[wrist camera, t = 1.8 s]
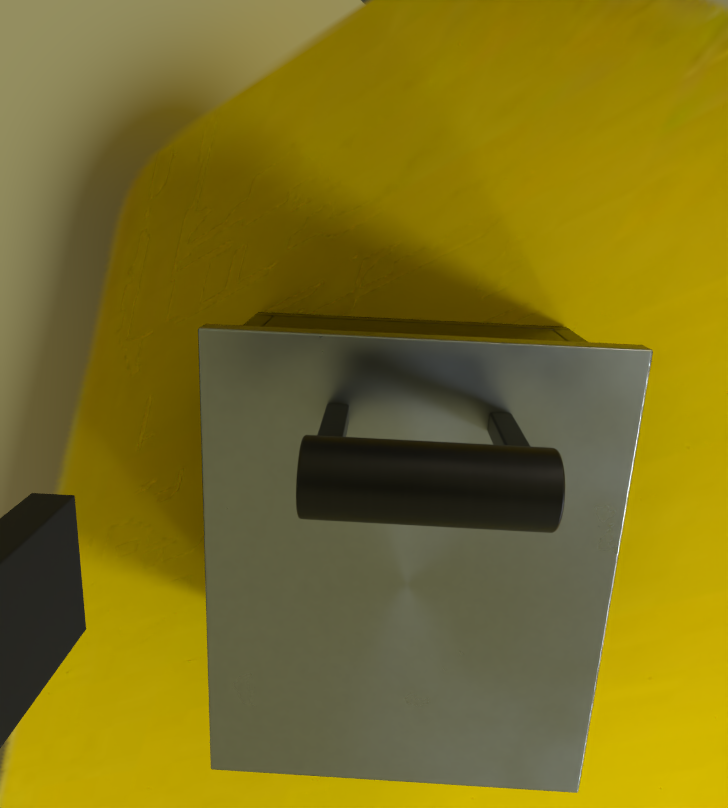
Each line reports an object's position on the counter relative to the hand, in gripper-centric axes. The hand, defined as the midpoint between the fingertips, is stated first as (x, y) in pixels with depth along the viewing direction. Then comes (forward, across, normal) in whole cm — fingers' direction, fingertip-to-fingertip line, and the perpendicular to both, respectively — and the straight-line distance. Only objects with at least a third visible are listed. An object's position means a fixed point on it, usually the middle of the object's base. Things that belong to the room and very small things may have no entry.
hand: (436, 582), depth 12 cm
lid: (+10, 0, -6) cm, 11 cm away
